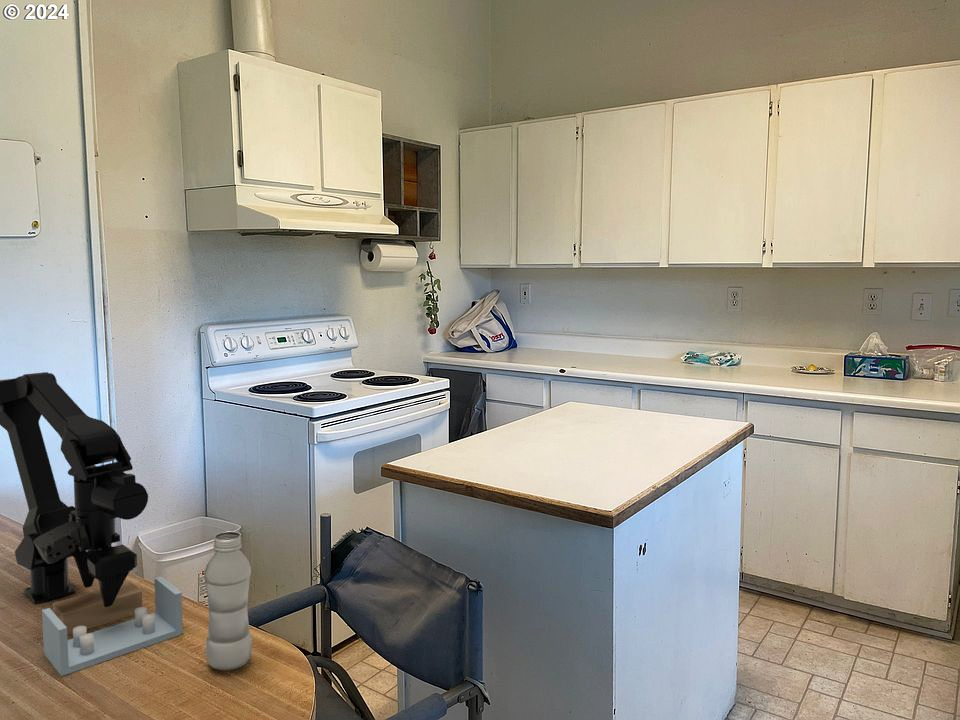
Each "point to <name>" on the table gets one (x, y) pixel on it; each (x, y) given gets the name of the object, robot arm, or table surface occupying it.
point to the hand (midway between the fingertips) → (97, 596)
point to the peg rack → (113, 633)
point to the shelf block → (97, 608)
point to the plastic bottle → (228, 604)
